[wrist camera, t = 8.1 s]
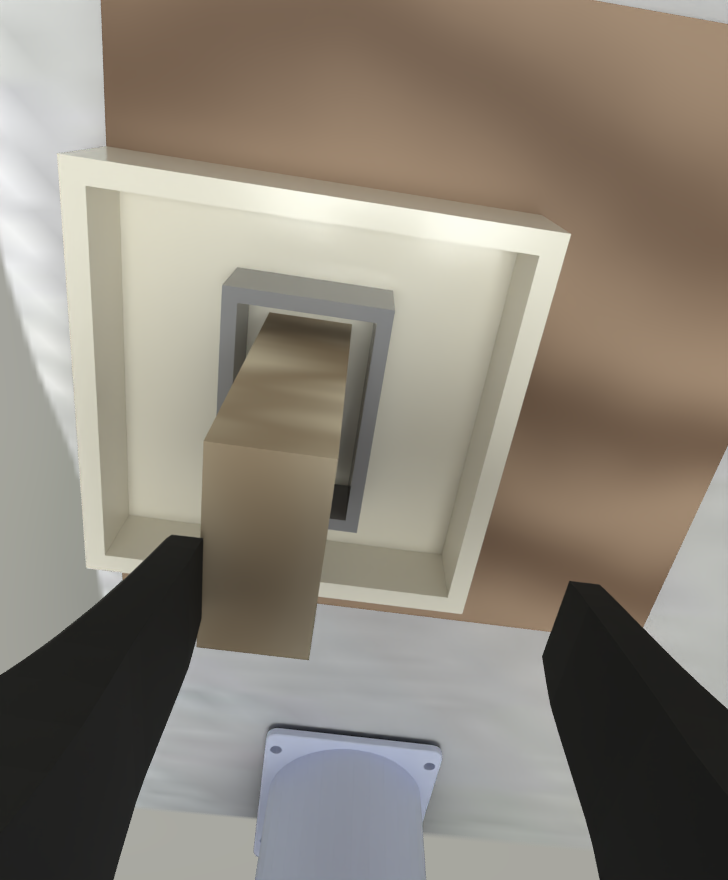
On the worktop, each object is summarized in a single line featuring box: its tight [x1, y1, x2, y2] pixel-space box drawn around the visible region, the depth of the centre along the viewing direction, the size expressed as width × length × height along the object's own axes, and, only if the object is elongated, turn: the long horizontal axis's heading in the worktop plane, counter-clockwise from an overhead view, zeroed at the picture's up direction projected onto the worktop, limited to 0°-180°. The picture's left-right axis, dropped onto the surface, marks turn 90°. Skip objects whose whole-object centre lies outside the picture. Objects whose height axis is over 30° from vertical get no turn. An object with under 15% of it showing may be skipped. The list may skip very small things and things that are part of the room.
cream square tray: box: [57, 146, 571, 614], centre depth 19 cm, size 12×12×3 cm
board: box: [101, 0, 728, 632], centre depth 20 cm, size 20×20×1 cm
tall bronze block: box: [197, 312, 352, 660], centre depth 16 cm, size 2×5×8 cm, turn 172°
